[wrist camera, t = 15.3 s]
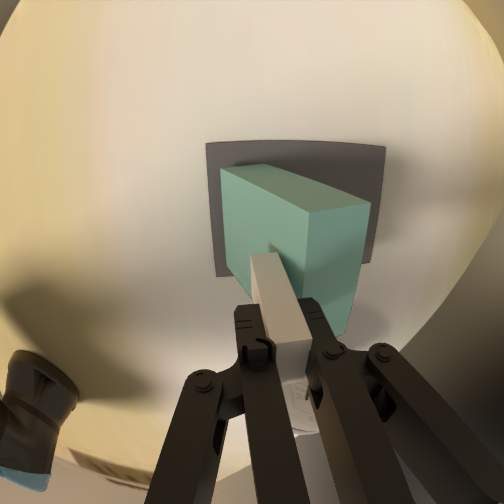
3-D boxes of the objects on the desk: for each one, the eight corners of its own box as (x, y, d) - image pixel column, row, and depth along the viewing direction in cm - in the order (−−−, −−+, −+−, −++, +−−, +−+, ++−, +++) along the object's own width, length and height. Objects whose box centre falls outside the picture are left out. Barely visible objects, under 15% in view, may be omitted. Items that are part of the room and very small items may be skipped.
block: (226, 265, 25) (295, 355, 16) (220, 168, 21) (308, 212, 11) (265, 255, 27) (344, 332, 17) (264, 163, 22) (370, 202, 13)
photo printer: (239, 344, 33) (251, 432, 22) (263, 324, 31) (284, 414, 21) (292, 370, 37) (313, 443, 26) (314, 354, 35) (342, 428, 25)
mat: (216, 275, 27) (216, 277, 27) (205, 143, 21) (205, 143, 21) (368, 261, 29) (369, 263, 29) (383, 146, 23) (385, 147, 23)
